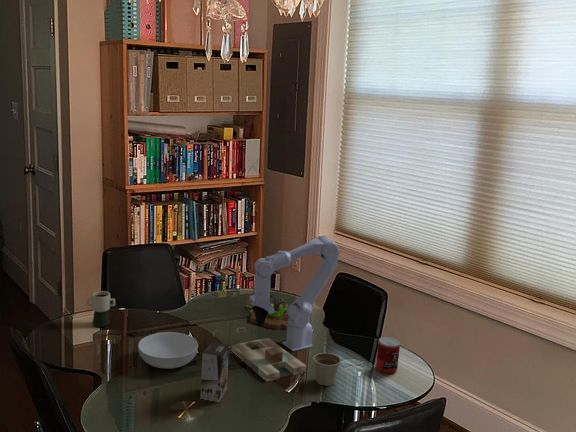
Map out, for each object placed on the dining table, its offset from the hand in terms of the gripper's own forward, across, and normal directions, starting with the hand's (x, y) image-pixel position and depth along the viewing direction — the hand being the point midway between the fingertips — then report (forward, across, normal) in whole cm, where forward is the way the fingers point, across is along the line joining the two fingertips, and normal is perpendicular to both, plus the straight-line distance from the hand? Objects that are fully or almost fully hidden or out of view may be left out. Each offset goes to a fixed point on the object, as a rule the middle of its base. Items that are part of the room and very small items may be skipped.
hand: (260, 324), depth 246 cm
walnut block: (+7, +15, -3) cm, 17 cm away
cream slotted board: (+9, +11, -3) cm, 15 cm away
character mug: (+10, -45, -46) cm, 65 cm away
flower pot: (+10, +33, +7) cm, 35 cm away
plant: (+10, -22, +20) cm, 31 cm away
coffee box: (+10, +24, -31) cm, 40 cm away
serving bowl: (+10, -4, -35) cm, 37 cm away
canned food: (+10, +35, +33) cm, 49 cm away
